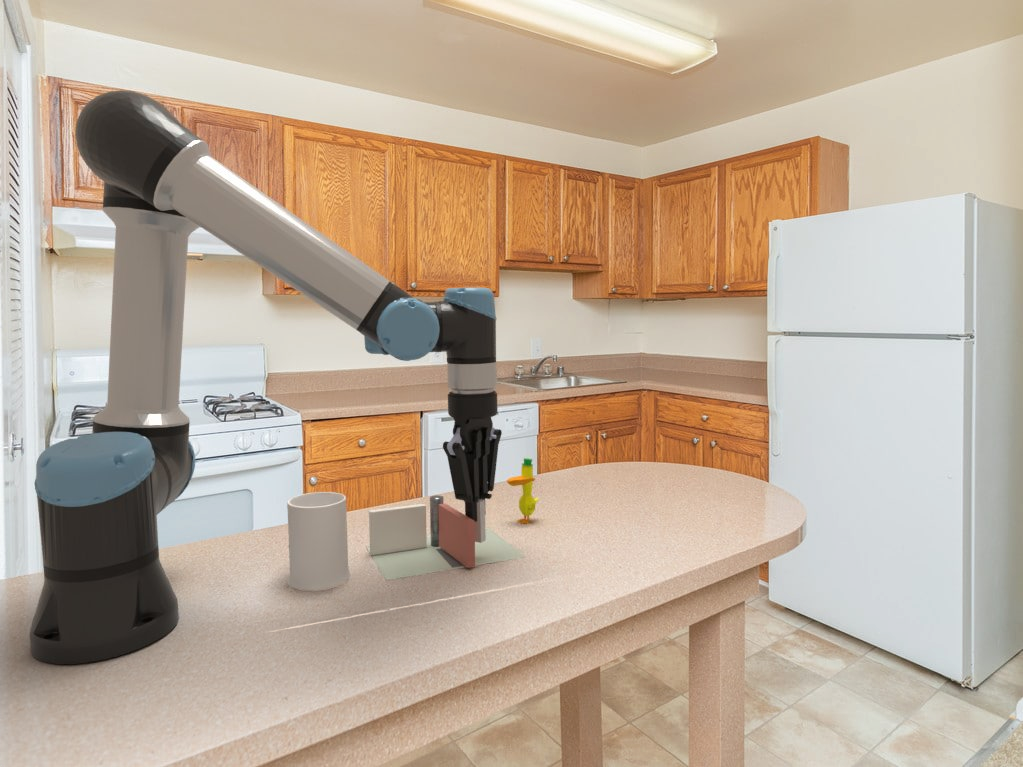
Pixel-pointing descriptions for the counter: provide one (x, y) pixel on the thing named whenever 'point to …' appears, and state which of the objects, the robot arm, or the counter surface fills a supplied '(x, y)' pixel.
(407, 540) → the fixed panel
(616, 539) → the counter surface
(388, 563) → the card
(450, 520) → the red panel
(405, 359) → the robot arm
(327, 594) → the counter surface
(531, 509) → the toy figure
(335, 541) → the mug
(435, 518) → the post
